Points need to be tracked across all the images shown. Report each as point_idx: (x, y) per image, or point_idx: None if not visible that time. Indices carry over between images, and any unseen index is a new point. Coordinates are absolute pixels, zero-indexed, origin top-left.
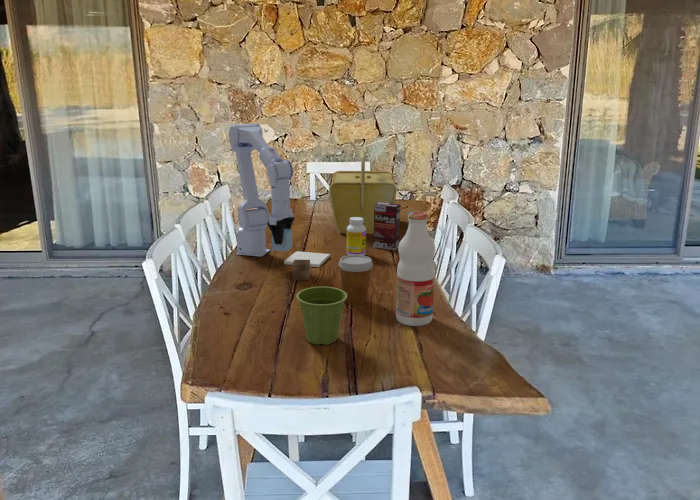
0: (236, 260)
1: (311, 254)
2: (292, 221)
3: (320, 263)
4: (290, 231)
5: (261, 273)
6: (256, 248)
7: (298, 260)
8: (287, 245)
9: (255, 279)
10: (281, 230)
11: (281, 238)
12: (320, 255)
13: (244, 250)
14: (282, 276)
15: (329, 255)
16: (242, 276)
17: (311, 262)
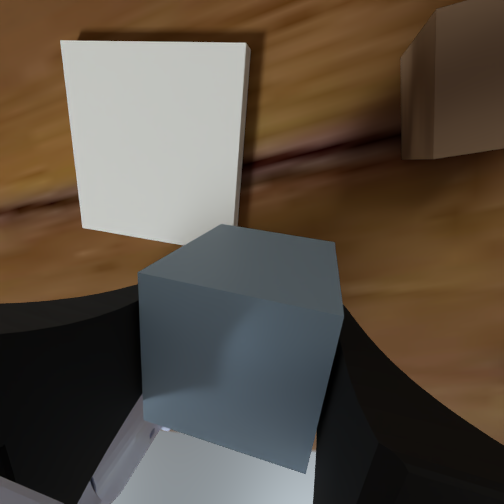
0: None
1: (99, 143)
2: (14, 319)
3: (217, 44)
4: (200, 277)
5: (387, 322)
6: None
7: (459, 114)
8: (314, 251)
9: (490, 335)
10: (453, 421)
11: (365, 333)
12: (98, 88)
13: None
14: (437, 216)
15: (70, 43)
16: (438, 390)
17: (222, 102)
